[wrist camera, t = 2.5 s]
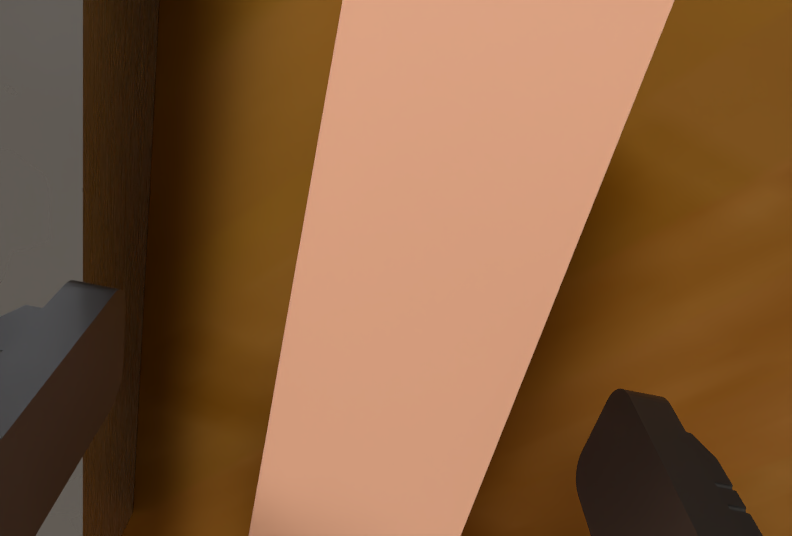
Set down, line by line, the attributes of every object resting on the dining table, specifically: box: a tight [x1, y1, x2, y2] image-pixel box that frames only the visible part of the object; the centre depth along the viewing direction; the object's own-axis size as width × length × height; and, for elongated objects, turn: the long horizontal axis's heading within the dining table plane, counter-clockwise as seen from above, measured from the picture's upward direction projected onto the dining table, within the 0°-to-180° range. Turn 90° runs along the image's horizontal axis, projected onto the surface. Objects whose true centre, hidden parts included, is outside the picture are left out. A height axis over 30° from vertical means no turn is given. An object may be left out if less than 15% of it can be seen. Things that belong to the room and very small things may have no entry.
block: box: [249, 0, 674, 536], centre depth 13 cm, size 4×14×6 cm, turn 167°
